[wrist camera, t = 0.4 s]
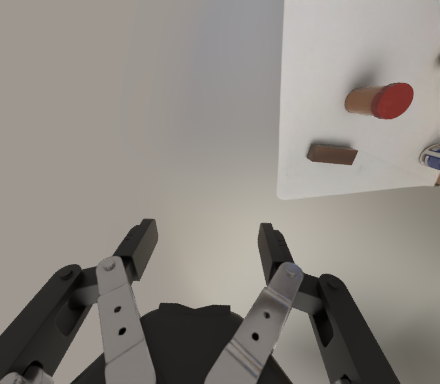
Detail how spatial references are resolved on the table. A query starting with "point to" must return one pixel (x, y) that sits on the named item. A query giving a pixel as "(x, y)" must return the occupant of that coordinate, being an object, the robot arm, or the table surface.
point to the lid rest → (332, 154)
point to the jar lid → (392, 100)
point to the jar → (361, 100)
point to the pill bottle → (431, 157)
